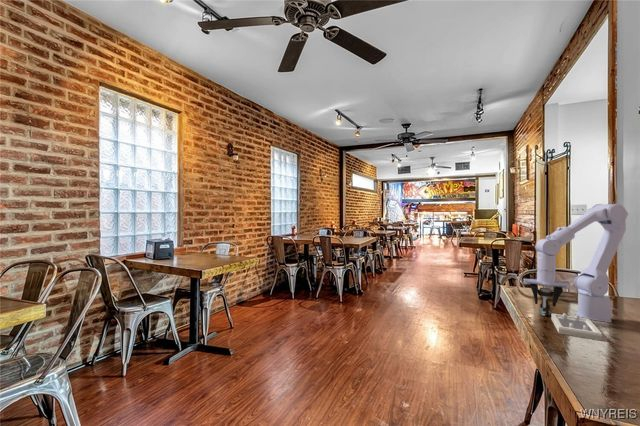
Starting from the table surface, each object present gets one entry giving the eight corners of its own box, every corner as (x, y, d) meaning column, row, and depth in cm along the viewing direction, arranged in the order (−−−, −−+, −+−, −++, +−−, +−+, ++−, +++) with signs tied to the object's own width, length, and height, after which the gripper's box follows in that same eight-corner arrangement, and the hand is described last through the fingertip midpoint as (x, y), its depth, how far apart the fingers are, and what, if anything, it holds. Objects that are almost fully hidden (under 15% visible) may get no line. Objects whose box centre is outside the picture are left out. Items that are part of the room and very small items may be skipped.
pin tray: (588, 324, 116) (589, 315, 116) (601, 340, 102) (602, 330, 102) (551, 319, 121) (551, 310, 121) (558, 333, 107) (559, 323, 107)
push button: (551, 318, 122) (551, 291, 122) (534, 314, 126) (535, 289, 126) (554, 314, 127) (554, 288, 127) (538, 311, 131) (538, 286, 131)
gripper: (525, 269, 126) (523, 304, 126) (571, 274, 119) (570, 310, 119) (523, 266, 132) (522, 299, 132) (567, 270, 125) (566, 305, 126)
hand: (544, 304), depth 126 cm, fingers closed on push button, 5 cm apart
